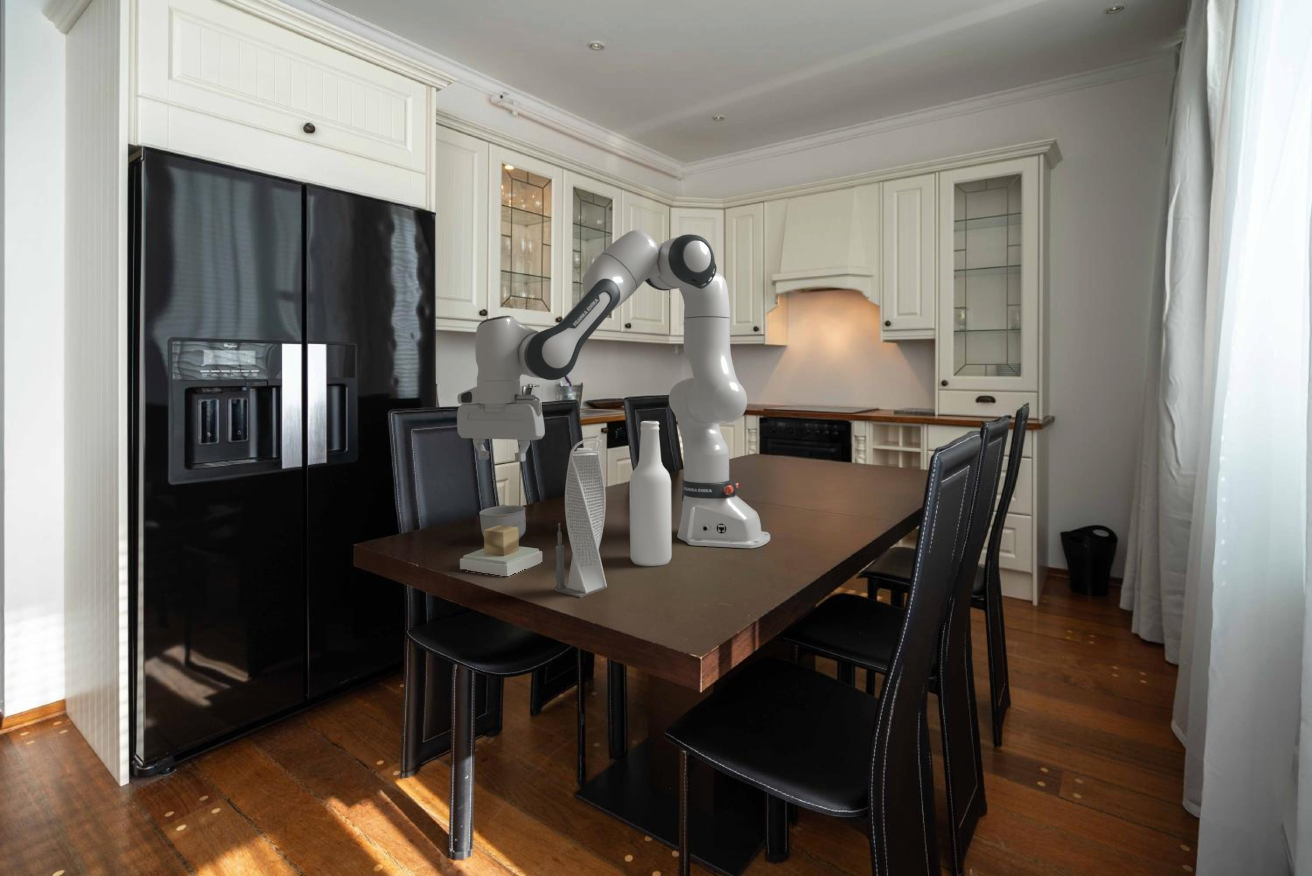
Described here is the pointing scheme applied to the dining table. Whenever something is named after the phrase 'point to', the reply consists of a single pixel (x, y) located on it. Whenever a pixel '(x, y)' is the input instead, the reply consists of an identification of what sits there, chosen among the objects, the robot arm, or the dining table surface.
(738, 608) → the dining table surface
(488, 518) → the teacup
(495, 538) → the oak cube
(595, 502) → the skyscraper
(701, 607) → the dining table surface
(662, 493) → the alcohol
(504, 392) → the robot arm
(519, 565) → the stand
